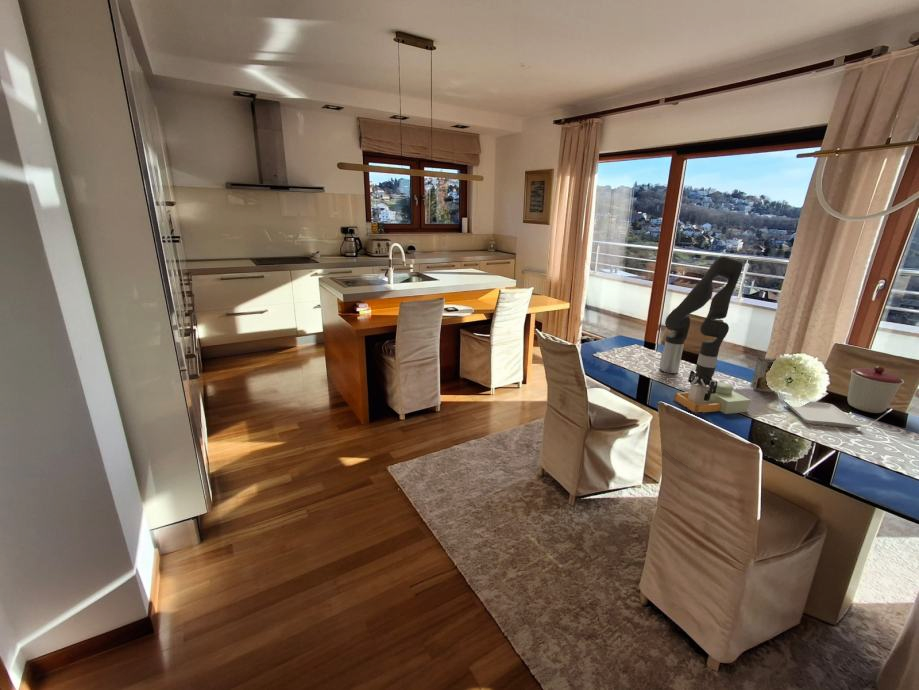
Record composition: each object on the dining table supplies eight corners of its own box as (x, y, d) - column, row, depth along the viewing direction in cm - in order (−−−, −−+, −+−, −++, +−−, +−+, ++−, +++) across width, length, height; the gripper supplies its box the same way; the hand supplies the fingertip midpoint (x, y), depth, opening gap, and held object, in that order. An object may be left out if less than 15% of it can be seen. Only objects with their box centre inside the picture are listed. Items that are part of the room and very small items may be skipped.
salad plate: (860, 432, 180) (863, 425, 179) (804, 426, 183) (806, 419, 182) (829, 409, 199) (831, 403, 198) (779, 404, 203) (780, 398, 202)
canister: (886, 406, 203) (902, 365, 197) (895, 421, 189) (913, 377, 182) (837, 396, 213) (851, 356, 206) (842, 409, 199) (857, 367, 192)
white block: (686, 403, 201) (690, 384, 197) (701, 402, 202) (705, 383, 199) (692, 407, 197) (697, 387, 194) (707, 406, 199) (712, 386, 195)
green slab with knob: (669, 397, 207) (673, 379, 204) (713, 393, 213) (717, 376, 210) (700, 416, 189) (704, 397, 186) (747, 411, 194) (752, 393, 191)
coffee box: (770, 387, 221) (778, 358, 216) (775, 392, 215) (783, 362, 210) (750, 385, 223) (757, 356, 218) (754, 390, 217) (762, 360, 212)
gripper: (688, 358, 199) (681, 390, 204) (711, 370, 186) (703, 403, 191) (701, 357, 200) (694, 389, 205) (726, 369, 187) (718, 402, 192)
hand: (699, 396), depth 198 cm, fingers open, 8 cm apart
